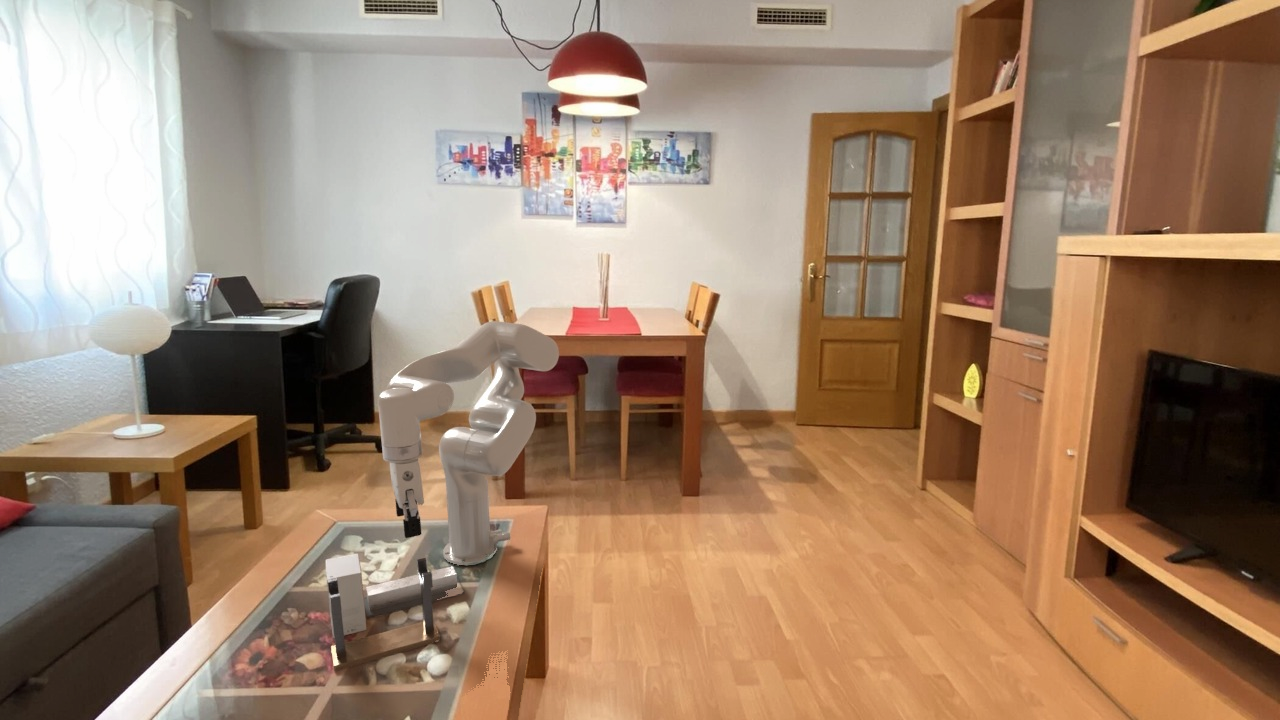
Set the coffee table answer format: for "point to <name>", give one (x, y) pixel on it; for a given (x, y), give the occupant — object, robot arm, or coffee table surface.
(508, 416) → the robot arm
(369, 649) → the rack
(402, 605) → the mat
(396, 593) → the rail
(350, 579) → the small box
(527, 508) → the coffee table surface
